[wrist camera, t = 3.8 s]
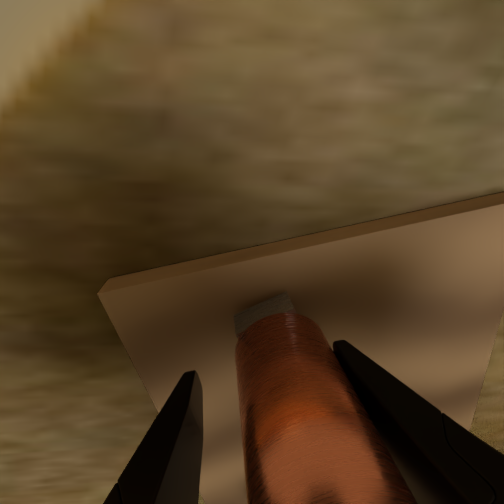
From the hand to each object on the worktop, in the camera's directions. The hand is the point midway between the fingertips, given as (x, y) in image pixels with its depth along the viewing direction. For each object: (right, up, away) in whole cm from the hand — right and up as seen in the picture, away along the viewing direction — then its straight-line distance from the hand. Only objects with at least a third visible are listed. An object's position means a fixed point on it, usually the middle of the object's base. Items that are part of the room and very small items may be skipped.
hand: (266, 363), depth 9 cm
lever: (+3, -4, +4) cm, 7 cm away
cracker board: (+4, -5, +7) cm, 9 cm away
